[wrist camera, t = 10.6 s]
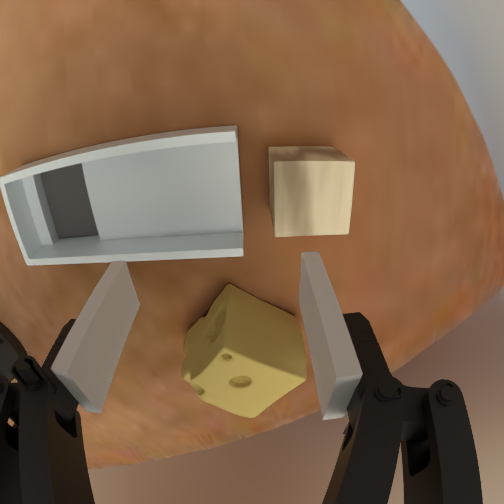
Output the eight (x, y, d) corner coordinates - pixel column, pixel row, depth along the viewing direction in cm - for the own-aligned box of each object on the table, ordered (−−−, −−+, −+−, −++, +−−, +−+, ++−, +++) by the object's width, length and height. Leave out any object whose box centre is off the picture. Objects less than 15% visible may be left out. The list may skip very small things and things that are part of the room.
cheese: (185, 330, 36) (173, 394, 28) (229, 275, 32) (224, 345, 23) (251, 359, 40) (252, 420, 31) (301, 314, 35) (315, 380, 26)
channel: (45, 245, 29) (27, 265, 25) (22, 165, 24) (-2, 178, 20) (243, 232, 29) (243, 256, 25) (237, 125, 24) (235, 131, 20)
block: (275, 237, 23) (348, 233, 23) (273, 161, 20) (354, 161, 20) (269, 207, 28) (330, 206, 28) (268, 146, 25) (333, 146, 25)
